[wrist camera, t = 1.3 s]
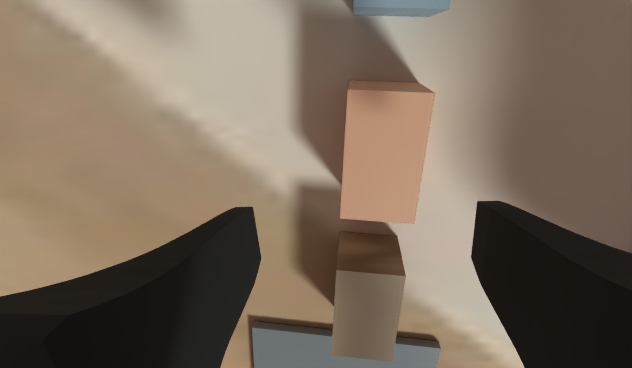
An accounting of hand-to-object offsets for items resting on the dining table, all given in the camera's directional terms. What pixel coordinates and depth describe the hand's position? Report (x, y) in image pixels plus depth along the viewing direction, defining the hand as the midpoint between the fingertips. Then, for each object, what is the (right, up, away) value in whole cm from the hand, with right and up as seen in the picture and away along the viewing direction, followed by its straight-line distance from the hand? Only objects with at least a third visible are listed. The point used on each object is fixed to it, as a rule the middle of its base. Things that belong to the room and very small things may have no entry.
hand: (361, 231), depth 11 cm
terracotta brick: (+2, +4, +8) cm, 9 cm away
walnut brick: (+2, -4, +11) cm, 12 cm away
